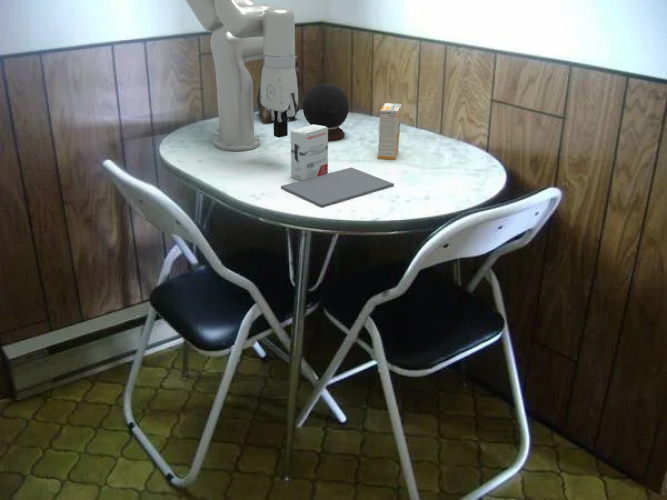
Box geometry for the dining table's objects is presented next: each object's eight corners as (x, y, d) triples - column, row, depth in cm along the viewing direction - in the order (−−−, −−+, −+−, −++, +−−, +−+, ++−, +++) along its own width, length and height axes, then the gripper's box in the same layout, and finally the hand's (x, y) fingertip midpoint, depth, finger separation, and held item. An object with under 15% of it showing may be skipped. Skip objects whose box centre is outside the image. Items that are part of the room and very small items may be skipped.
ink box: (313, 169, 174) (314, 122, 169) (328, 173, 172) (329, 126, 166) (290, 177, 169) (289, 129, 163) (305, 182, 166) (305, 133, 161)
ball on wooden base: (357, 138, 200) (359, 85, 193) (318, 145, 193) (319, 91, 186) (331, 127, 209) (332, 77, 203) (294, 133, 203) (293, 82, 196)
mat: (280, 188, 161) (280, 185, 161) (351, 169, 174) (351, 167, 174) (321, 207, 151) (321, 204, 151) (393, 186, 164) (393, 183, 164)
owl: (256, 114, 222) (254, 49, 214) (295, 112, 225) (294, 49, 216) (262, 124, 211) (260, 57, 202) (303, 122, 214) (303, 56, 205)
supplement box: (395, 160, 182) (398, 110, 176) (377, 158, 183) (379, 109, 177) (399, 151, 189) (402, 103, 184) (381, 149, 190) (384, 102, 184)
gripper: (248, 59, 170) (251, 132, 178) (285, 68, 160) (286, 145, 168) (273, 55, 174) (275, 127, 182) (311, 64, 164) (310, 140, 172)
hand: (280, 135), depth 175 cm, fingers closed
